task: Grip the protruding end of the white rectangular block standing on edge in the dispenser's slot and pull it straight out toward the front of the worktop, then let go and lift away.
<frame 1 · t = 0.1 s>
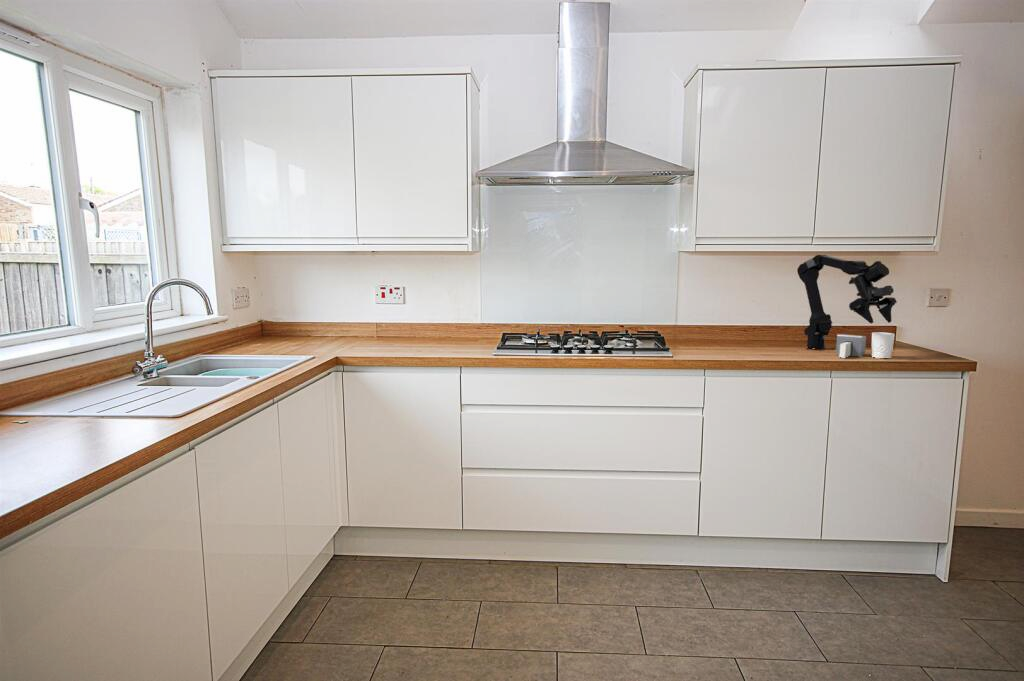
hand: (881, 322, 229), 15 cm above the counter, tool tilted 30°, fingers open, 9 cm apart
white cup: (881, 358, 237), on the counter
white rectangular block: (847, 349, 239), point 3 cm above the counter, slide at 0.0 cm
dispenser: (850, 354, 244), on the counter
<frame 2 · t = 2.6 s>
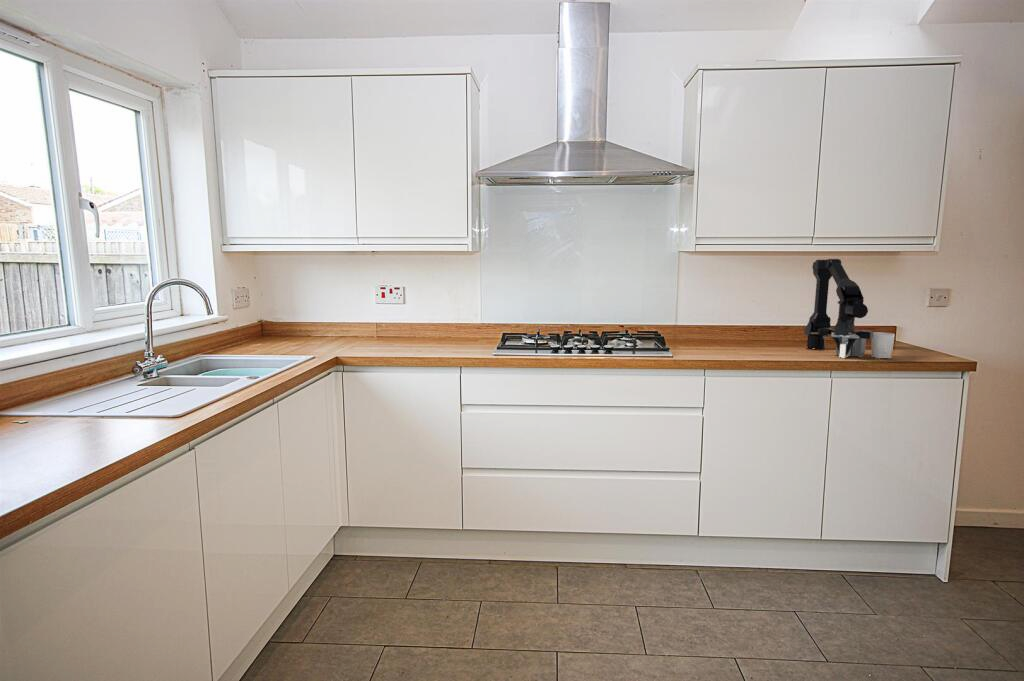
hand: (843, 354, 235), 2 cm above the counter, tool pointing down, fingers closed on white rectangular block, 2 cm apart
white rectangular block: (847, 349, 239), point 3 cm above the counter, slide at 0.0 cm, touching gripper
everything else where it was.
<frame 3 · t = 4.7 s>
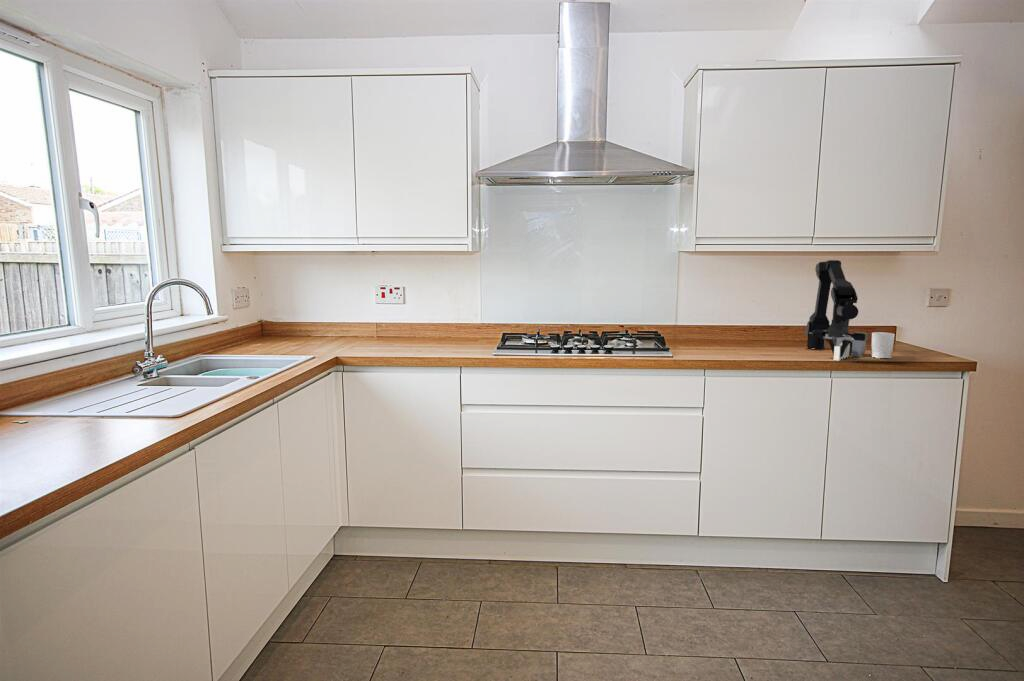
hand: (837, 356, 229), 2 cm above the counter, tool pointing down, fingers closed on white rectangular block, 2 cm apart
white rectangular block: (841, 351, 233), point 3 cm above the counter, slide at 8.5 cm, touching gripper
everything else where it was.
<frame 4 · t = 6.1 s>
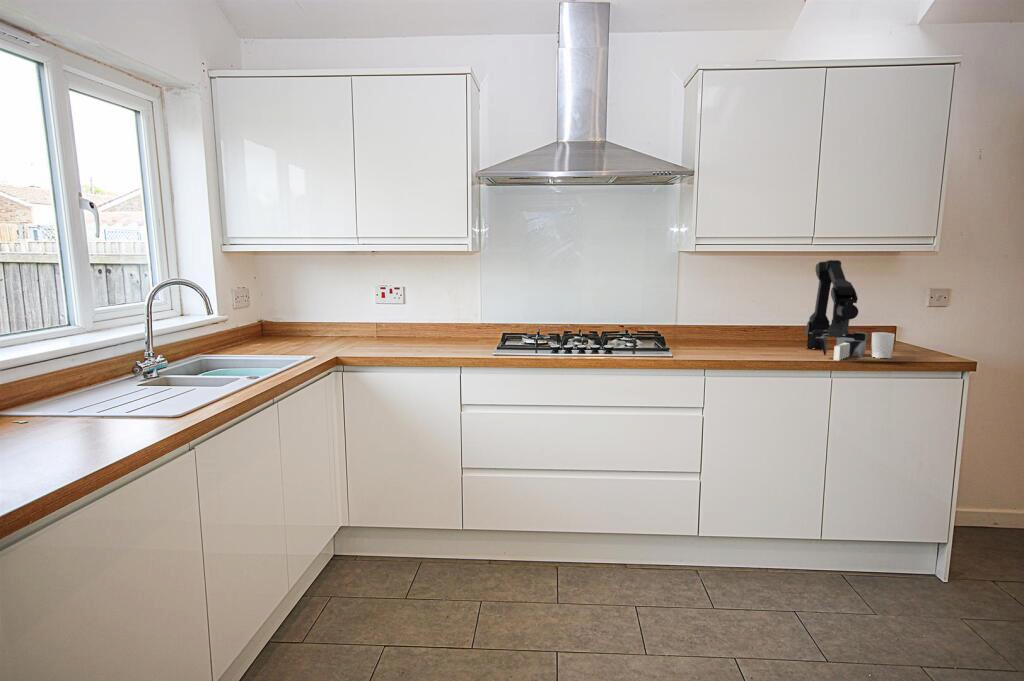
hand: (837, 356, 229), 2 cm above the counter, tool pointing down, fingers open, 9 cm apart
white rectangular block: (841, 351, 233), point 3 cm above the counter, slide at 8.5 cm
everything else where it was.
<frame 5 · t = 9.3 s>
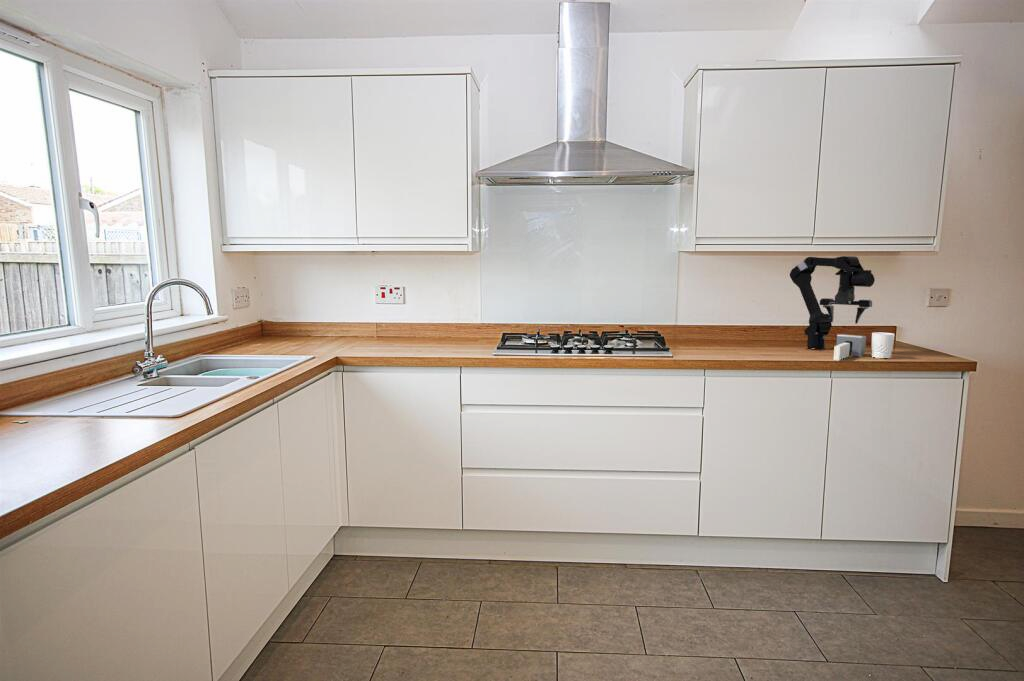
hand: (843, 322, 247), 13 cm above the counter, tool pointing down, fingers open, 9 cm apart
nothing on the counter moved.
at the end: white rectangular block slide at 8.5 cm; the gripper is holding nothing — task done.
